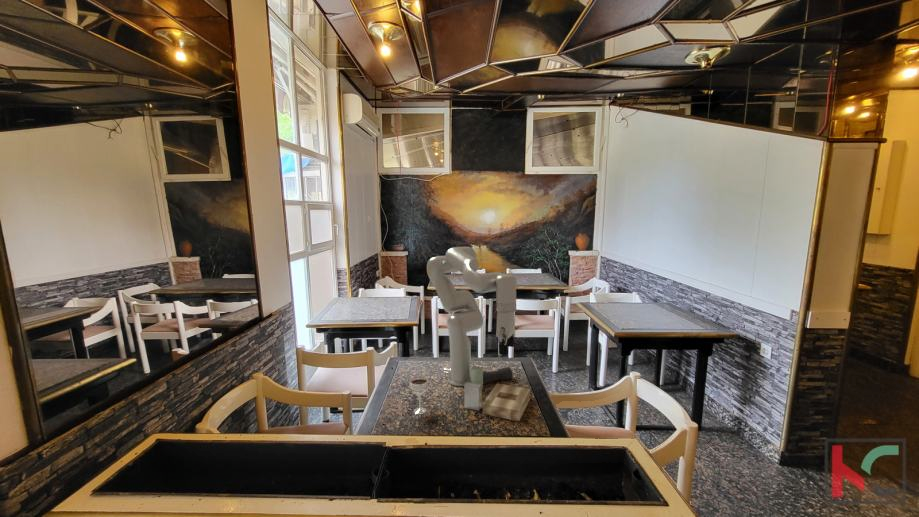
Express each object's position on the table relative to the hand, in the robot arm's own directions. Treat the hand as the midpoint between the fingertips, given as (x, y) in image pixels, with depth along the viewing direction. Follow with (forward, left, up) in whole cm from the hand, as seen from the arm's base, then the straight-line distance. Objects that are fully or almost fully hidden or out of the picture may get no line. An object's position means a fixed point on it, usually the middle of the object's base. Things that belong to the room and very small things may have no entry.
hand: (506, 350), depth 130 cm
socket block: (0, 0, -22) cm, 22 cm away
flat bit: (-12, -6, -22) cm, 26 cm away
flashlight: (-11, +20, -23) cm, 32 cm away
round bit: (-16, +9, -22) cm, 29 cm away
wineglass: (-30, -16, -22) cm, 41 cm away
